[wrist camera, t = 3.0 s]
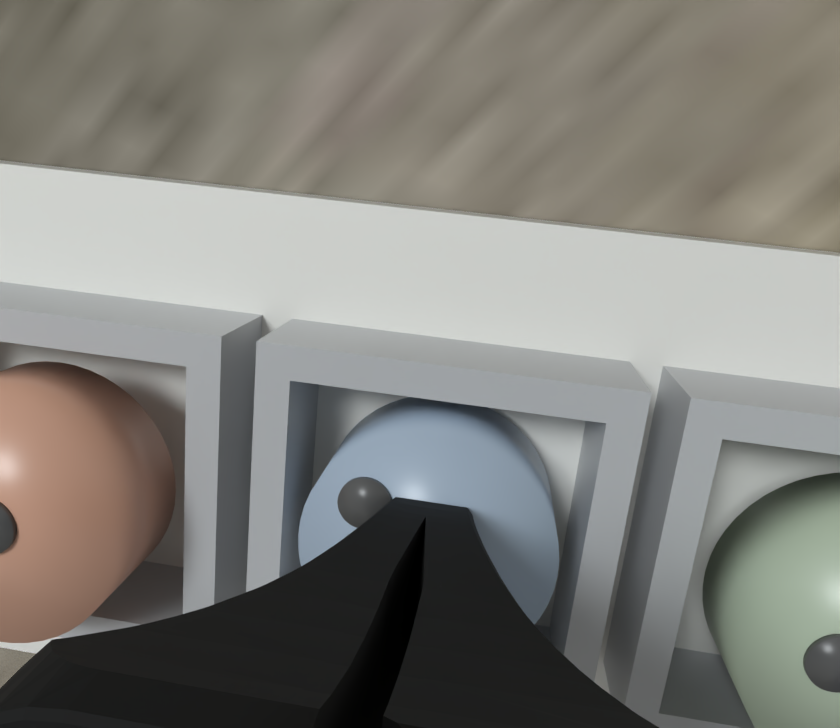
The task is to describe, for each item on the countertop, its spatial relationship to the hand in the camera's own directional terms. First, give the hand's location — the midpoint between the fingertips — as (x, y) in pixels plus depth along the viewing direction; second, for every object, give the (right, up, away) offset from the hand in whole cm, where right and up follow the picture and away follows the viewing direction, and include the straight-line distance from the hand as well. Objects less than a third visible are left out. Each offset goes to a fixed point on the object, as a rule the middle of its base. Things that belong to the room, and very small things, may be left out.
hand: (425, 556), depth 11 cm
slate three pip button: (0, 0, +2) cm, 2 cm away
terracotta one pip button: (-7, +1, +1) cm, 7 cm away
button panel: (+1, +1, +4) cm, 4 cm away
